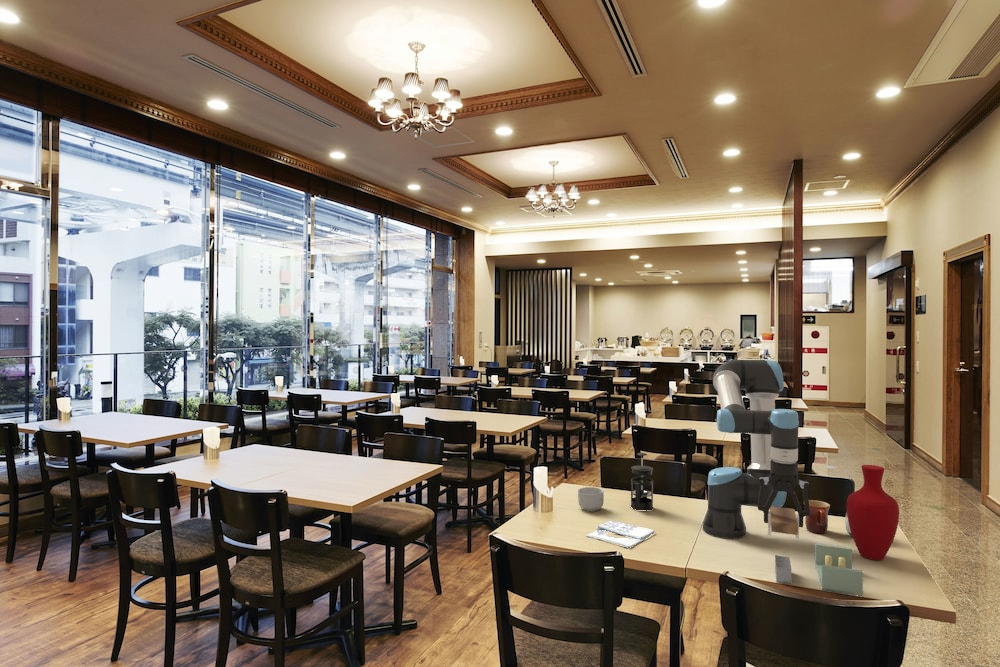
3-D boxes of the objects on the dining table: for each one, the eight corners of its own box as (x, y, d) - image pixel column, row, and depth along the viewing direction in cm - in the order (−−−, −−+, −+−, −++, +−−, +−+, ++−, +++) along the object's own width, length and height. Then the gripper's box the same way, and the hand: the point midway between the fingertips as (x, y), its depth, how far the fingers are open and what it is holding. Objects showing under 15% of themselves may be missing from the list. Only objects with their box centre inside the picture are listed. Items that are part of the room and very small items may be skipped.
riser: (776, 582, 176) (776, 567, 175) (775, 569, 185) (775, 555, 185) (791, 584, 174) (791, 569, 174) (789, 571, 183) (789, 557, 183)
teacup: (605, 513, 240) (605, 493, 239) (578, 513, 240) (579, 493, 240) (600, 503, 254) (600, 484, 253) (575, 502, 254) (575, 484, 254)
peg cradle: (822, 590, 170) (822, 566, 170) (815, 564, 188) (815, 543, 188) (862, 597, 166) (862, 572, 166) (851, 570, 184) (851, 547, 184)
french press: (634, 503, 254) (635, 449, 253) (656, 506, 249) (656, 452, 249) (626, 510, 243) (626, 455, 243) (648, 514, 239) (649, 457, 238)
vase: (842, 545, 205) (843, 459, 204) (892, 552, 199) (893, 463, 199) (849, 561, 191) (850, 469, 191) (903, 568, 185) (904, 474, 185)
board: (771, 531, 174) (771, 521, 174) (769, 515, 188) (769, 506, 188) (797, 535, 171) (797, 524, 171) (794, 518, 185) (794, 508, 185)
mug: (800, 526, 225) (800, 499, 225) (825, 527, 223) (825, 500, 223) (810, 537, 213) (810, 509, 213) (836, 539, 211) (836, 510, 211)
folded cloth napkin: (656, 535, 216) (656, 529, 216) (628, 551, 201) (628, 544, 201) (611, 523, 229) (611, 518, 229) (582, 537, 214) (582, 531, 214)
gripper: (748, 460, 179) (747, 534, 180) (822, 467, 171) (821, 544, 172) (748, 454, 186) (747, 526, 187) (819, 461, 178) (818, 535, 179)
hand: (782, 535), depth 180 cm, fingers closed on board, 7 cm apart
